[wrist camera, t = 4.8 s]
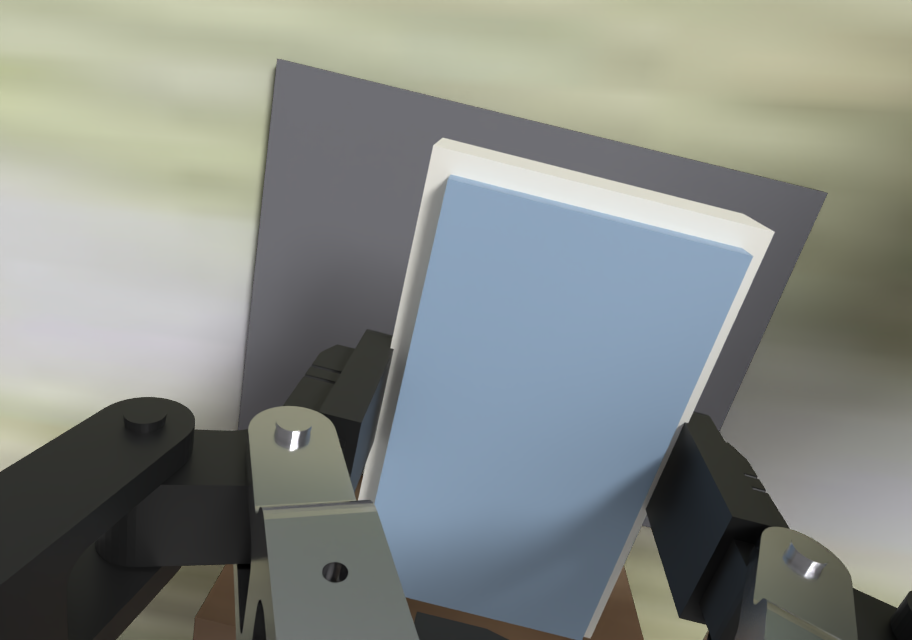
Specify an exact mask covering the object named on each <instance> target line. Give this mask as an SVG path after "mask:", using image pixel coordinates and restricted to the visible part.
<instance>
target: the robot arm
mask: <svg viewBox="0 0 912 640" xmlns="http://www.w3.org/2000/svg"><path fill="white" fill-rule="evenodd" d="M392 338H393V335H390V334H386V333H382V332H378V331H374V330H370V329H366V331H365V333H364V334H363V336H362V338H361V340H360V341H359V343H358V345H357V346H356V348H355V349H354V348H350V347H346V346H342V345H338V344H337V345H335V346H332V347H330V348H328V349H326V350H324V351H322V352H320V353H319V355H318V356H317V358H316V359H315V361H314V362H313V363H312V366H311V367H310V368H309V369H308V371H307V372H306V373H305V376H304V377H303V378H302V379H301V380H300V382H299V383H298V385H297V386H296V388H295V389H294V390H293V392H292V393H291V395H290V396H289V398H288V399H287V400H286V402H285V403H284V405H283V406H280V407H274V408H270V409H267V410H264V411H262V412H260V413H259V414H257V415H256V416H255V417H254V418H253V419H252V420H251V421H250V424H249V428H248V429H245V430H237V431H215V430H194V428H195V418H194V415H193V413H192V412H191V411H190V410H189V409H188V408H187V407H186V406H184V405H182V404H180V403H178V402H176V401H172V400H169V399H164V398H155V397H141V398H133V399H127V400H123V401H120V402H117V403H114V404H112V405H110V406H108V407H106V408H104V409H102V410H101V411H99V412H98V413H96V414H94V415H93V416H91V417H89V418H88V419H86V420H84V421H83V422H81V423H80V424H78V425H76V426H75V427H73V428H71V429H70V430H68V431H66V432H65V433H63V434H62V435H60V436H58V437H57V438H55V439H53V440H52V441H50V442H48V443H47V444H45V445H44V446H42V447H40V448H39V449H37V450H35V451H34V452H32V453H30V454H29V455H27V456H26V457H24V458H22V459H21V460H19V461H17V462H16V463H14V464H12V465H11V466H9V467H8V468H6V469H4V470H3V471H1V472H0V640H116V639H117V638H118V637H119V636H120V635H121V634H122V632H123V631H124V630H125V629H126V628H127V627H128V626H129V625H130V624H131V623H132V621H133V620H134V619H135V618H136V617H137V616H138V615H139V614H140V613H141V611H142V610H143V609H144V608H145V607H146V606H147V605H148V604H149V603H150V602H151V600H152V599H153V598H154V597H155V596H156V595H157V594H158V593H159V592H160V591H161V589H162V588H163V587H164V586H165V585H166V584H167V583H168V582H169V581H170V580H171V578H172V577H173V576H174V575H175V574H176V573H177V572H178V570H179V569H180V568H181V566H189V565H224V564H233V568H234V594H235V620H236V640H509V639H507V638H504V637H502V636H500V635H498V634H496V633H494V632H492V631H490V630H488V629H486V628H482V627H478V626H474V625H470V624H466V623H462V622H458V621H454V620H450V619H446V618H442V617H438V616H434V615H429V614H425V613H421V612H417V613H416V616H415V620H414V622H413V619H412V616H411V613H410V610H409V607H408V604H407V601H406V597H405V594H404V591H403V588H402V585H401V582H400V579H399V576H398V573H397V570H396V567H395V564H394V561H393V558H392V555H391V552H390V548H389V545H388V542H387V539H386V536H385V533H384V530H383V527H382V524H381V521H380V518H379V515H378V512H377V509H376V507H375V505H374V503H373V502H372V501H371V500H356V497H355V494H354V493H355V490H356V487H357V485H358V482H359V479H360V477H361V474H362V472H363V469H364V466H365V464H366V461H367V458H368V456H369V453H370V451H371V448H372V445H373V443H374V439H375V434H376V430H377V425H378V420H379V416H380V411H381V406H382V402H383V397H384V393H385V388H386V383H387V379H388V374H389V369H390V365H391V360H392V355H393V351H394V349H392V348H390V347H391V342H392ZM765 491H766V490H765V488H764V486H763V485H762V483H761V482H760V480H759V479H757V475H756V473H755V472H754V470H753V469H752V467H751V465H750V464H749V462H748V461H747V459H746V458H745V457H743V456H742V455H741V454H740V453H739V452H738V451H737V450H736V449H735V448H734V447H732V446H731V445H730V444H729V443H727V442H725V441H724V439H723V438H722V436H721V434H720V432H719V431H718V429H717V427H716V426H715V424H714V422H713V421H712V419H711V417H710V416H709V415H706V414H702V413H698V412H694V411H693V414H692V416H691V418H690V420H689V422H688V423H686V422H685V423H684V425H683V427H682V429H681V432H680V434H679V436H678V438H677V441H676V443H675V445H674V447H673V449H672V452H671V454H670V456H669V458H668V461H667V463H666V465H665V467H664V469H663V472H662V474H661V476H660V478H659V480H658V483H657V485H656V487H655V489H654V492H653V494H652V496H651V498H650V500H649V503H648V505H647V507H646V509H645V510H646V513H647V516H648V519H649V522H650V526H651V529H652V532H653V535H654V538H655V542H656V545H657V548H658V551H659V555H660V558H661V561H662V564H663V567H664V571H665V574H666V577H667V580H668V583H669V587H670V590H671V593H672V596H673V600H674V603H675V606H676V609H677V612H678V616H679V618H681V619H685V620H689V621H693V622H697V623H702V624H706V625H707V628H708V631H707V633H706V635H705V636H704V638H703V640H912V591H910V592H909V593H908V594H907V596H906V597H905V599H904V600H903V601H902V603H901V604H900V606H899V607H898V608H896V607H893V606H891V605H889V604H887V603H885V602H882V601H880V600H878V599H876V598H874V597H871V596H869V595H867V594H865V593H863V592H861V591H858V590H856V589H854V588H853V586H852V579H851V576H850V573H849V571H848V570H847V568H846V567H845V565H844V564H843V563H842V562H841V561H840V560H839V559H838V558H837V557H836V556H835V555H834V554H833V553H832V552H831V551H830V550H828V549H827V548H826V547H824V546H823V545H822V544H820V543H819V542H817V541H815V540H814V539H812V538H810V537H808V536H806V535H804V534H802V533H800V532H797V531H794V530H792V529H790V528H789V527H788V525H787V523H786V522H785V520H784V519H783V517H782V515H781V514H780V512H779V511H778V509H777V507H776V506H775V504H774V502H773V501H772V499H771V498H770V496H769V494H768V493H765Z"/></svg>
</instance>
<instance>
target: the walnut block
mask: <svg viewBox="0 0 912 640" xmlns="http://www.w3.org/2000/svg"><path fill="white" fill-rule="evenodd" d="M362 479H363V476H362V475H361V477H360V479H359V482H358V485H357V487H356V490H355V493H354V494H355V497H356V500H358V498H359V493H360V489H361V484H362ZM406 601H407V604H408V607H409V610H410V613H411V616H412V619H413V622H414V620H415V616H416V613H417V612H421V613H425V614H429V615H434V616H438V617H442V618H446V619H450V620H454V621H458V622H462V623H466V624H470V625H474V626H478V627H482V628H486V629H488V630H490V631H492V632H494V633H496V634H498V635H500V636H502V637H504V638H507V639H509V640H575V639H571V638H567V637H563V636H559V635H555V634H551V633H547V632H543V631H539V630H535V629H531V628H527V627H523V626H519V625H515V624H511V623H507V622H503V621H499V620H495V619H491V618H487V617H483V616H479V615H475V614H471V613H467V612H463V611H459V610H455V609H451V608H447V607H443V606H439V605H435V604H431V603H426V602H422V601H418V600H414V599H410V598H406ZM193 640H236V620H235V594H234V568H233V564H226V565H225V566H224V568H223V570H222V572H221V573H220V575H219V577H218V578H217V580H216V582H215V584H214V585H213V587H212V589H211V591H210V592H209V594H208V596H207V598H206V599H205V601H204V603H203V604H202V606H201V608H200V610H199V611H198V613H197V615H196V617H195V623H194V635H193ZM582 640H644V639H643V635H642V632H641V628H640V624H639V620H638V617H637V613H636V609H635V605H634V601H633V598H632V594H631V590H630V586H629V583H628V579H627V575H626V571H625V567H624V566H623V568H622V570H621V572H620V575H619V577H618V579H617V581H616V583H615V586H614V588H613V590H612V592H611V594H610V597H609V599H608V601H607V603H606V605H605V608H604V610H603V612H602V614H601V617H600V619H599V621H598V623H597V625H596V628H595V630H594V632H593V634H592V636H591V638H587V637H583V639H582Z"/></svg>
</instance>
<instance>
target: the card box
mask: <svg viewBox="0 0 912 640" xmlns="http://www.w3.org/2000/svg"><path fill="white" fill-rule="evenodd" d="M774 233H775V232H774V231H772V230H771V229H769V228H767V227H765V226H764V225H762V224H760V223H758V222H757V221H755V220H753V219H752V218H750V217H748V216H746V215H745V214H742V213H738V212H734V211H730V210H726V209H722V208H719V207H715V206H711V205H707V204H703V203H699V202H695V201H691V200H687V199H683V198H679V197H675V196H671V195H667V194H663V193H659V192H655V191H652V190H648V189H644V188H640V187H636V186H632V185H628V184H624V183H620V182H616V181H612V180H608V179H604V178H600V177H596V176H592V175H588V174H585V173H581V172H577V171H573V170H569V169H565V168H561V167H557V166H553V165H549V164H545V163H541V162H537V161H533V160H529V159H525V158H521V157H518V156H514V155H510V154H506V153H502V152H498V151H494V150H490V149H486V148H482V147H478V146H474V145H470V144H466V143H462V142H458V141H454V140H451V139H447V138H442V139H440V140H439V141H438V142H437V143H436V144H434V145H433V149H432V154H431V158H430V163H429V168H428V173H427V177H426V182H425V187H424V191H423V196H422V201H421V206H420V210H419V215H418V220H417V224H416V229H415V234H414V239H413V243H412V248H411V253H410V257H409V262H408V267H407V272H406V276H405V281H404V286H403V291H402V295H401V300H400V305H399V309H398V314H397V319H396V324H395V328H394V333H393V338H392V342H391V347H390V348H392V349H394V351H393V355H392V360H391V365H390V369H389V374H388V379H387V383H386V388H385V393H384V397H383V402H382V406H381V411H380V416H379V420H378V425H377V430H376V434H375V439H374V443H373V445H372V448H371V451H370V453H369V456H368V458H367V461H366V465H365V470H364V475H363V479H362V484H361V489H360V493H359V498H358V500H371V501H372V502H373V503H374V505H375V507H376V509H377V512H378V515H379V518H380V521H381V524H382V527H383V530H384V533H385V536H386V539H387V542H388V545H389V548H390V552H391V555H392V558H393V561H394V564H395V567H396V570H397V573H398V576H399V579H400V582H401V585H402V588H403V591H404V594H405V597H406V598H410V599H414V600H418V601H422V602H426V603H431V604H435V605H439V606H443V607H447V608H451V609H455V610H459V611H463V612H467V613H471V614H475V615H479V616H483V617H487V618H491V619H495V620H499V621H503V622H507V623H511V624H515V625H519V626H523V627H527V628H531V629H535V630H539V631H543V632H547V633H551V634H555V635H559V636H563V637H567V638H571V639H575V640H582V639H583V637H587V638H591V636H592V634H593V632H594V630H595V628H596V625H597V623H598V621H599V619H600V617H601V614H602V612H603V610H604V608H605V605H606V603H607V601H608V599H609V597H610V594H611V592H612V590H613V588H614V586H615V583H616V581H617V579H618V577H619V575H620V572H621V570H622V568H623V566H624V564H625V561H626V559H627V557H628V555H629V553H630V550H631V548H632V546H633V544H634V542H635V539H636V537H637V535H638V533H639V531H640V528H641V526H642V524H643V522H644V519H645V517H646V515H647V513H646V510H645V509H646V507H647V505H648V503H649V500H650V498H651V496H652V494H653V492H654V489H655V487H656V485H657V483H658V480H659V478H660V476H661V474H662V472H663V469H664V467H665V465H666V463H667V461H668V458H669V456H670V454H671V452H672V449H673V447H674V445H675V443H676V441H677V438H678V436H679V434H680V432H681V429H682V427H683V425H684V423H685V422H686V423H688V422H689V420H690V418H691V416H692V414H693V411H694V409H695V407H696V405H697V403H698V400H699V398H700V396H701V394H702V392H703V389H704V387H705V385H706V383H707V381H708V378H709V376H710V374H711V372H712V370H713V367H714V365H715V363H716V361H717V358H718V356H719V354H720V352H721V350H722V347H723V345H724V343H725V341H726V339H727V336H728V334H729V332H730V330H731V328H732V325H733V323H734V321H735V319H736V317H737V314H738V312H739V310H740V308H741V306H742V303H743V301H744V299H745V297H746V295H747V292H748V290H749V288H750V286H751V284H752V281H753V279H754V277H755V275H756V272H757V270H758V268H759V266H760V264H761V261H762V259H763V257H764V255H765V253H766V250H767V248H768V246H769V244H770V242H771V239H772V237H773V235H774Z"/></svg>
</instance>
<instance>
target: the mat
mask: <svg viewBox="0 0 912 640" xmlns="http://www.w3.org/2000/svg"><path fill="white" fill-rule="evenodd" d="M442 138H447V139H451V140H454V141H458V142H462V143H466V144H470V145H474V146H478V147H482V148H486V149H490V150H494V151H498V152H502V153H506V154H510V155H514V156H518V157H521V158H525V159H529V160H533V161H537V162H541V163H545V164H549V165H553V166H557V167H561V168H565V169H569V170H573V171H577V172H581V173H585V174H588V175H592V176H596V177H600V178H604V179H608V180H612V181H616V182H620V183H624V184H628V185H632V186H636V187H640V188H644V189H648V190H652V191H655V192H659V193H663V194H667V195H671V196H675V197H679V198H683V199H687V200H691V201H695V202H699V203H703V204H707V205H711V206H715V207H719V208H722V209H726V210H730V211H734V212H738V213H742V214H745V215H746V216H748V217H750V218H752V219H753V220H755V221H757V222H758V223H760V224H762V225H764V226H765V227H767V228H769V229H771V230H772V231H774V232H775V233H774V235H773V237H772V239H771V242H770V244H769V246H768V248H767V250H766V253H765V255H764V257H763V259H762V261H761V264H760V266H759V268H758V270H757V272H756V275H755V277H754V279H753V281H752V284H751V286H750V288H749V290H748V292H747V295H746V297H745V299H744V301H743V303H742V306H741V308H740V310H739V312H738V314H737V317H736V319H735V321H734V323H733V325H732V328H731V330H730V332H729V334H728V336H727V339H726V341H725V343H724V345H723V347H722V350H721V352H720V354H719V356H718V358H717V361H716V363H715V365H714V367H713V370H712V372H711V374H710V376H709V378H708V381H707V383H706V385H705V387H704V389H703V392H702V394H701V396H700V398H699V400H698V403H697V405H696V407H695V409H694V412H698V413H702V414H706V415H709V416H710V417H711V419H712V421H713V422H714V424H715V426H716V427H717V429H718V431H720V429H721V426H722V424H723V422H724V420H725V418H726V415H727V413H728V411H729V409H730V407H731V404H732V402H733V400H734V398H735V396H736V394H737V391H738V389H739V387H740V385H741V383H742V380H743V378H744V376H745V374H746V372H747V369H748V367H749V365H750V363H751V361H752V358H753V356H754V354H755V352H756V350H757V347H758V345H759V343H760V341H761V339H762V336H763V334H764V332H765V330H766V328H767V325H768V323H769V321H770V319H771V317H772V314H773V312H774V310H775V308H776V306H777V303H778V301H779V299H780V297H781V295H782V293H783V290H784V288H785V286H786V284H787V282H788V279H789V277H790V275H791V273H792V271H793V268H794V266H795V264H796V262H797V260H798V257H799V255H800V253H801V251H802V249H803V246H804V244H805V242H806V240H807V238H808V235H809V233H810V231H811V229H812V227H813V224H814V222H815V220H816V218H817V216H818V213H819V211H820V209H821V207H822V205H823V203H824V200H825V198H826V196H827V194H828V193H825V192H822V191H818V190H814V189H810V188H806V187H802V186H798V185H794V184H790V183H786V182H781V181H777V180H773V179H769V178H765V177H761V176H757V175H753V174H749V173H745V172H741V171H736V170H732V169H728V168H724V167H720V166H716V165H712V164H708V163H704V162H700V161H695V160H691V159H687V158H683V157H679V156H675V155H671V154H667V153H663V152H659V151H654V150H650V149H646V148H642V147H638V146H634V145H630V144H626V143H622V142H618V141H614V140H609V139H605V138H601V137H597V136H593V135H589V134H585V133H581V132H577V131H573V130H568V129H564V128H560V127H556V126H552V125H548V124H544V123H540V122H536V121H532V120H527V119H523V118H519V117H515V116H511V115H507V114H503V113H499V112H495V111H491V110H487V109H482V108H478V107H474V106H470V105H466V104H462V103H458V102H454V101H450V100H446V99H441V98H437V97H433V96H429V95H425V94H421V93H417V92H413V91H409V90H405V89H400V88H396V87H392V86H388V85H384V84H380V83H376V82H372V81H368V80H364V79H359V78H355V77H351V76H347V75H343V74H339V73H335V72H331V71H327V70H323V69H319V68H314V67H310V66H306V65H302V64H298V63H294V62H290V61H286V60H282V59H277V66H276V75H275V85H274V94H273V104H272V113H271V123H270V132H269V141H268V151H267V160H266V170H265V179H264V188H263V198H262V207H261V217H260V226H259V236H258V245H257V254H256V264H255V273H254V283H253V292H252V301H251V311H250V320H249V330H248V339H247V349H246V358H245V367H244V377H243V386H242V396H241V405H240V414H239V424H238V430H245V429H248V428H249V424H250V421H251V420H252V419H253V418H254V417H255V416H256V415H257V414H259V413H260V412H262V411H264V410H267V409H270V408H274V407H280V406H283V405H284V403H285V402H286V400H287V399H288V398H289V396H290V395H291V393H292V392H293V390H294V389H295V388H296V386H297V385H298V383H299V382H300V380H301V379H302V378H303V377H304V376H305V373H306V372H307V371H308V369H309V368H310V367H311V366H312V363H313V362H314V361H315V359H316V358H317V356H318V355H319V353H320V352H322V351H324V350H326V349H328V348H330V347H332V346H335V345H337V344H338V345H342V346H346V347H350V348H354V349H355V348H356V346H357V345H358V343H359V341H360V340H361V338H362V336H363V334H364V333H365V331H366V329H370V330H374V331H378V332H382V333H386V334H390V335H393V333H394V328H395V324H396V319H397V314H398V309H399V305H400V300H401V295H402V291H403V286H404V281H405V276H406V272H407V267H408V262H409V257H410V253H411V248H412V243H413V239H414V234H415V229H416V224H417V220H418V215H419V210H420V206H421V201H422V196H423V191H424V187H425V182H426V177H427V173H428V168H429V163H430V158H431V154H432V149H433V145H434V144H436V143H437V142H438V141H439V140H440V139H442ZM642 526H646V527H651V526H650V522H649V519H648V516H647V515H646V517H645V519H644V522H643V524H642Z"/></svg>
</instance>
